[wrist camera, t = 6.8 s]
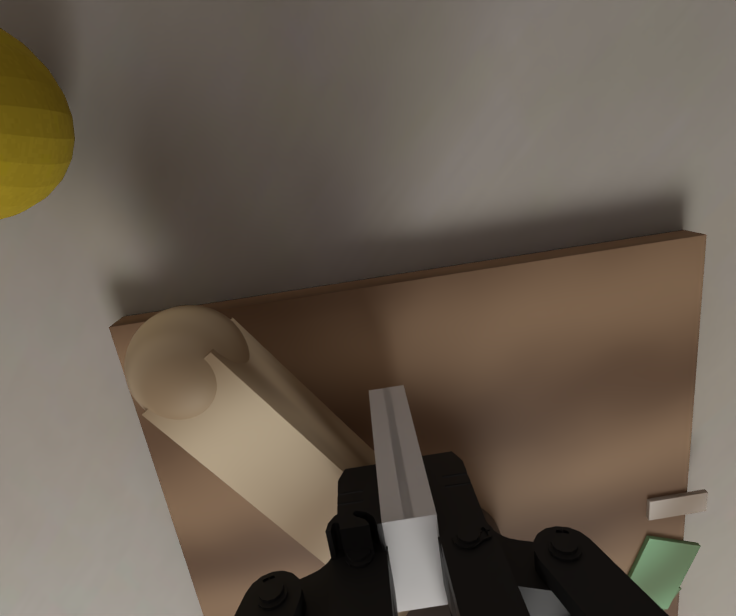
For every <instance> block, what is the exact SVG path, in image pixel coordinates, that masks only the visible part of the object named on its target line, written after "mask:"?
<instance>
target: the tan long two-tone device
mask: <svg viewBox="0 0 736 616" xmlns="http://www.w3.org/2000/svg"><path fill="white" fill-rule="evenodd" d="M124 372H125V378H126V382H127V385H128V388H129V390H130V392H131V394H132V396H133V397H134V399H135V400H136V401H137V402H138V404H139V405H140V406H141V407H142V408H143V409H144V410H145V411H144V413H143V414H142V415H143V416H144V417H145V418H146V419H147V420H149V421H150V422H151V423H152V424H154V425H155V426H156V427H157V428H159V429H160V430H161V431H162V432H163V433H165V434H166V435H167V436H168V437H170V438H171V439H172V440H173V441H174V442H176V443H177V444H178V445H179V446H181V447H182V448H183V449H184V450H186V451H187V452H188V453H189V454H190V455H192V456H193V457H194V458H195V459H197V460H198V461H199V462H200V463H201V464H203V465H204V466H205V467H206V468H208V469H209V470H210V471H211V472H213V473H214V474H215V475H216V476H217V477H219V478H220V479H221V480H222V481H224V482H225V483H226V484H227V485H228V486H230V487H231V488H232V489H233V490H235V491H236V492H237V493H238V494H240V495H241V496H242V497H243V498H244V499H246V500H247V501H248V502H249V503H251V504H252V505H253V506H254V507H256V508H257V509H258V510H259V511H260V512H262V513H263V514H264V515H265V516H267V517H268V518H269V519H270V520H271V521H273V522H274V523H275V524H276V525H278V526H279V527H280V528H281V529H283V530H284V531H285V532H286V533H287V534H289V535H290V536H291V537H292V538H294V539H295V540H296V541H297V542H298V543H300V544H301V545H302V546H303V547H305V548H306V549H307V550H308V551H310V552H311V553H312V554H313V555H314V556H316V557H317V558H318V559H319V560H321V561H322V562H323V563H324V564H325V565H326V564H327V563H328V561H329V560H330V559H331V555H330V550H329V546H328V541H327V537H326V532H325V531H326V528H327V525H328V523H329V522H330V520H331V519H332V518H333V517H334V516H335V515H337V506H338V505H337V496H338V480H339V478H340V477H341V475H342V473H343V471H344V470H345V469H348V468H355V467H361V466H368V465H374V464H376V461H375V452H374V451H373V450H372V449H371V448H370V447H369V446H368V445H367V444H366V443H365V442H364V441H363V440H362V439H361V438H360V437H359V436H358V435H356V434H355V433H354V432H353V431H352V430H351V429H350V428H349V427H348V426H347V425H346V424H345V423H344V422H343V421H342V420H341V419H340V418H338V417H337V416H336V415H335V414H334V413H333V412H332V411H331V410H330V409H329V408H328V407H327V406H326V405H325V404H324V403H323V402H321V401H320V400H319V399H318V398H317V397H316V396H315V395H314V394H313V393H312V392H311V391H310V390H309V389H308V388H307V387H306V386H305V385H303V384H302V383H301V382H300V381H299V380H298V379H297V378H296V377H295V376H294V375H293V374H292V373H291V372H290V371H289V370H288V369H287V368H285V367H284V366H283V365H282V364H281V363H280V362H279V361H278V360H277V359H276V358H275V357H274V356H273V355H272V354H271V353H270V352H269V351H267V350H266V349H265V348H264V347H263V346H262V345H261V344H260V343H259V342H258V341H257V340H256V339H255V338H254V337H253V336H252V335H251V334H249V333H248V332H247V331H246V330H245V329H244V328H243V327H242V326H241V325H240V324H239V323H238V322H237V321H236V320H235V319H234V318H232V319H231V320H230V319H229V318H228V317H227V316H225V315H223V314H222V313H220V312H218V311H216V310H214V309H211V308H208V307H203V306H196V305H182V306H176V307H172V308H169V309H166V310H163V311H161V312H159V313H157V314H156V315H154V316H152V317H151V318H149V319H148V320H147V321H146V322H145V323H143V325H142V326H141V327H140V328H139V329H138V330H137V331H136V333H135V334H134V336H133V337H132V339H131V341H130V344H129V346H128V348H127V352H126V356H125V363H124ZM481 509H482V508H481ZM482 512H483V515H484V517H485V520H486V521H487V523H488V524H489V525H490V526H491V527H492V528H493V530H494V531H496V532H497V533H499V534H500V535H501V533H500V531H499V528H498V526H497V524H496V522H495V521H494V519H493V518H492V517H491V516H490V514H489V513H487V512H486V511H485V510H484V509H482ZM398 616H450V609H449V604H447V605H441V606H434V607H428V608H422V609H415V610H409V611H403V612H398Z"/></svg>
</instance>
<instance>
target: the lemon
mask: <svg viewBox="0 0 736 616" xmlns="http://www.w3.org/2000/svg"><path fill="white" fill-rule="evenodd" d="M74 141H75V136H74V127H73V119H72V115H71V112H70V109H69V106H68V104H67V101H66V98H65V95H64V94H63V92H62V90H61V89H60V87H59V86H58V84H57V82H56V81H55V79H54V78H53V76H52V74H51V73H50V71H49V70H48V69H47V68H46V66H45V65H44V64H43V63H42V62H41V61H40V60H39V59H38V58H37V57H36V56H35V55H34V54H33V53H32V52H31V51H30V50H29V49H28V48H27V47H26V46H25V45H24V44H23V43H21V42H20V41H19V40H17V39H16V38H14V37H13V36H11V35H10V34H8V33H7V32H6V31H4V30H3V29H1V28H0V219H3V218H7V217H11V216H14V215H16V214H19V213H21V212H23V211H25V210H27V209H28V208H30V207H32V206H33V205H35V204H36V203H38V202H40V201H41V200H43V199H45V198H46V197H47V196H48V195H49V194H50V193H51V192H52V191H53V190H54V188H55V187H56V186H57V185H58V184H59V183H60V182H61V180H62V179H63V177H64V175H65V173H66V171H67V169H68V166H69V164H70V162H71V160H72V154H73V148H74Z"/></svg>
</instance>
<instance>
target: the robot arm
mask: <svg viewBox="0 0 736 616" xmlns="http://www.w3.org/2000/svg"><path fill="white" fill-rule="evenodd" d="M369 400H370V410H371V421H372V431H373V441H374V451H375V461H376V464H374V465H368V466H361V467H355V468H348V469H345V470H344V471H343V473H342V475H341V477H340V478H339V480H338V496H337V505H338V506H337V515H335V516H334V517H333V518H332V519H331V520H330V522H329V523H328V525H327V528H326V531H325V532H326V537H327V541H328V546H329V550H330V555H331V559H330V560H329V561H328V563H327V564H326V565H324V566H323V567H322V568H321V569H319V570H318V571H316V572H314V573H312V574H310V575H308V576H305V577H303V578H301V579H299V578H298V577H297V576H296V575H294V574H293V573H291V572H287V571H274V572H271V573H268V574H266V575H264V576H261V577H260V578H259V579H258V580H256V581H255V582H254V583H253V584H252V585H251V586H250V588H249V589H248V590H247V592H246V593H245V595H244V597H243V599H242V601H241V603H240V605H239V607H238V609H237V611H236V613H235V615H234V616H398V612H403V611H409V610H415V609H422V608H428V607H434V606H441V605H447V604H449V609H450V616H669V615H668V614H667V613H666V612H665V611H664V610H663V609H662V608H661V607H660V606H659V605H658V604H656V603H655V602H654V601H653V600H652V599H651V598H650V597H649V596H648V595H647V594H646V593H645V592H644V591H643V590H642V589H641V588H640V587H639V586H638V585H637V584H636V583H635V582H634V581H633V580H632V579H631V578H630V577H629V576H628V575H627V574H626V573H625V572H624V571H623V570H622V569H621V568H620V567H618V566H617V565H616V564H615V563H614V562H613V561H612V560H611V559H610V558H609V557H608V556H607V555H606V554H605V553H604V552H603V551H602V550H601V549H600V548H599V547H598V546H597V545H596V544H595V543H594V542H593V541H592V540H591V539H590V538H588V537H587V536H586V535H584V534H583V533H581V532H580V531H577V530H575V529H572V528H569V527H561V526H554V527H549V528H545V529H544V530H542V531H541V532H539V533H538V534H537V535H536V537H535V539H534V542H532V541H523V540H516V539H511V538H508V537H505V536H502V535H500V534H499V533H497V532H496V531H494V530H493V528H492V527H491V526H490V525H489V524H488V523H487V521H486V520H485V517H484V515H483V512H482V509H481V507H480V504H479V502H478V499H477V496H476V494H475V491H474V489H473V486H472V484H471V481H470V478H469V476H468V474H467V471H466V468H465V466H464V463H463V460H461V459H460V458H459V457H458V456H457V455H456V454H454V453H453V452H452V451H450V452H443V453H437V454H431V455H424V456H422V455H421V451H420V448H419V444H418V440H417V436H416V432H415V428H414V424H413V420H412V416H411V412H410V409H409V405H408V401H407V397H406V393H405V389H404V385H400V386H394V387H387V388H381V389H375V390H369Z"/></svg>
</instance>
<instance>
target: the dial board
mask: <svg viewBox="0 0 736 616" xmlns="http://www.w3.org/2000/svg"><path fill="white" fill-rule="evenodd" d="M705 247H706V235H705V234H701V233H696V232H691V231H686V230H681V231H674V232H668V233H661V234H655V235H648V236H642V237H635V238H629V239H622V240H616V241H610V242H603V243H597V244H590V245H584V246H577V247H571V248H564V249H558V250H551V251H545V252H538V253H532V254H526V255H519V256H513V257H506V258H500V259H493V260H487V261H480V262H474V263H467V264H461V265H454V266H448V267H441V268H435V269H429V270H422V271H416V272H409V273H403V274H396V275H390V276H383V277H377V278H370V279H364V280H357V281H351V282H345V283H338V284H332V285H325V286H319V287H312V288H306V289H299V290H293V291H286V292H280V293H273V294H267V295H261V296H254V297H248V298H241V299H235V300H228V301H222V302H215V303H209V304H202V305H196V306H203V307H208V308H211V309H214V310H216V311H218V312H220V313H222V314H223V315H225V316H227V317H228V318H229V319H230V320H231V319H232V318H234V319H235V320H236V321H237V322H238V323H239V324H240V325H241V326H242V327H243V328H244V329H245V330H246V331H247V332H248V333H249V334H251V335H252V336H253V337H254V338H255V339H256V340H257V341H258V342H259V343H260V344H261V345H262V346H263V347H264V348H265V349H266V350H267V351H269V352H270V353H271V354H272V355H273V356H274V357H275V358H276V359H277V360H278V361H279V362H280V363H281V364H282V365H283V366H284V367H285V368H287V369H288V370H289V371H290V372H291V373H292V374H293V375H294V376H295V377H296V378H297V379H298V380H299V381H300V382H301V383H302V384H303V385H305V386H306V387H307V388H308V389H309V390H310V391H311V392H312V393H313V394H314V395H315V396H316V397H317V398H318V399H319V400H320V401H321V402H323V403H324V404H325V405H326V406H327V407H328V408H329V409H330V410H331V411H332V412H333V413H334V414H335V415H336V416H337V417H338V418H340V419H341V420H342V421H343V422H344V423H345V424H346V425H347V426H348V427H349V428H350V429H351V430H352V431H353V432H354V433H355V434H356V435H358V436H359V437H360V438H361V439H362V440H363V441H364V442H365V443H366V444H367V445H368V446H369V447H370V448H371V449H372V450H373V451H374V441H373V431H372V421H371V410H370V400H369V390H375V389H381V388H387V387H394V386H400V385H404V389H405V393H406V397H407V401H408V405H409V409H410V412H411V416H412V420H413V424H414V428H415V432H416V436H417V440H418V444H419V448H420V451H421V455H422V456H424V455H431V454H437V453H443V452H450V451H452V452H453V453H454V454H456V455H457V456H458V457H459V458H460V459H461V460H463V463H464V466H465V468H466V471H467V474H468V476H469V478H470V481H471V484H472V486H473V489H474V491H475V494H476V496H477V499H478V502H479V504H480V507H481V508H482V509H484V510H485V511H486V512H487V513H489V514H490V516H491V517H492V518H493V519H494V521H495V522H496V524H497V526H498V528H499V531H500V533H501V535H502V536H505V537H508V538H511V539H516V540H523V541H532V542H534V539H535V537H536V535H537V534H538V533H539V532H541V531H542V530H544V529H545V528H549V527H554V526H561V527H569V528H572V529H575V530H577V531H580V532H581V533H583V534H584V535H586V536H587V537H588V538H590V539H591V540H592V541H593V542H594V543H595V544H596V545H597V546H598V547H599V548H600V549H601V550H602V551H603V552H604V553H605V554H606V555H607V556H608V557H609V558H610V559H611V560H612V561H613V562H614V563H615V564H616V565H617V566H618V567H620V568H621V569H622V570H623V571H624V572H625V573H626V574H627V575H628V576H629V577H630V578H631V579H632V580H633V581H634V582H635V583H636V584H637V585H638V586H639V587H640V588H641V589H642V590H643V591H644V592H645V593H646V594H647V595H648V596H649V597H650V598H651V599H652V600H653V601H654V602H655V603H656V604H658V605H659V606H660V607H661V608H662V609H663V610H664V611H665V612H666V613H667V614H668V615H669V616H677V615H678V602H679V591H680V590H681V588H680V585H681V583H682V581H683V579H684V577H685V575H686V573H687V571H688V569H689V568H690V566H691V564H692V562H693V560H694V558H695V556H696V554H697V552H698V550H699V548H700V545H699V544H698V543H696V542H689V541H683V536H684V523H685V514H691V513H697V512H703V511H706V507H707V496H708V492H707V491H706V490H705V489H704V490H698V491H692V492H687V484H688V471H689V458H690V444H691V431H692V418H693V405H694V392H695V379H696V366H697V352H698V339H699V326H700V313H701V300H702V287H703V274H704V260H705ZM159 312H161V311H157V312H151V313H144V314H138V315H131V316H125V317H122V318H121V319H119V320H118V321H117V322H115V323H114V324H113V325H111V326H110V327H109V329H110V332H111V335H112V338H113V341H114V344H115V347H116V350H117V353H118V356H119V359H120V362H121V365H122V368H123V372H124V363H125V356H126V352H127V348H128V346H129V344H130V341H131V339H132V337H133V336H134V334H135V333H136V331H137V330H138V329H139V328H140V327H141V326H142V325H143V323H145V322H146V321H147V320H148V319H149V318H151V317H152V316H154V315H156V314H157V313H159ZM124 375H125V372H124ZM130 393H131V392H130ZM131 396H132V394H131ZM132 399H133V402H134V405H135V408H136V411H137V414H138V417H139V420H140V423H141V426H142V429H143V432H144V435H145V438H146V442H147V445H148V448H149V451H150V454H151V457H152V460H153V463H154V466H155V469H156V472H157V475H158V478H159V481H160V484H161V487H162V490H163V493H164V496H165V499H166V502H167V505H168V508H169V512H170V515H171V518H172V521H173V524H174V527H175V530H176V533H177V536H178V539H179V542H180V545H181V548H182V551H183V554H184V557H185V560H186V563H187V566H188V569H189V572H190V575H191V578H192V581H193V585H194V588H195V591H196V594H197V597H198V600H199V603H200V606H201V609H202V612H203V615H204V616H234V615H235V613H236V611H237V609H238V607H239V605H240V603H241V601H242V599H243V597H244V595H245V593H246V592H247V590H248V589H249V588H250V586H251V585H252V584H253V583H254V582H255V581H256V580H258V579H259V578H260V577H261V576H264V575H266V574H268V573H271V572H274V571H287V572H291V573H293V574H294V575H296V576H297V577H298V578H299V579H301V578H303V577H305V576H308V575H310V574H312V573H314V572H316V571H318V570H319V569H321V568H322V567H323V566H324V565H325V564H324V563H323V562H322V561H321V560H319V559H318V558H317V557H316V556H314V555H313V554H312V553H311V552H310V551H308V550H307V549H306V548H305V547H303V546H302V545H301V544H300V543H298V542H297V541H296V540H295V539H294V538H292V537H291V536H290V535H289V534H287V533H286V532H285V531H284V530H283V529H281V528H280V527H279V526H278V525H276V524H275V523H274V522H273V521H271V520H270V519H269V518H268V517H267V516H265V515H264V514H263V513H262V512H260V511H259V510H258V509H257V508H256V507H254V506H253V505H252V504H251V503H249V502H248V501H247V500H246V499H244V498H243V497H242V496H241V495H240V494H238V493H237V492H236V491H235V490H233V489H232V488H231V487H230V486H228V485H227V484H226V483H225V482H224V481H222V480H221V479H220V478H219V477H217V476H216V475H215V474H214V473H213V472H211V471H210V470H209V469H208V468H206V467H205V466H204V465H203V464H201V463H200V462H199V461H198V460H197V459H195V458H194V457H193V456H192V455H190V454H189V453H188V452H187V451H186V450H184V449H183V448H182V447H181V446H179V445H178V444H177V443H176V442H174V441H173V440H172V439H171V438H170V437H168V436H167V435H166V434H165V433H163V432H162V431H161V430H160V429H159V428H157V427H156V426H155V425H154V424H152V423H151V422H150V421H149V420H147V419H146V418H145V417H144V416H143V415H142V414H143V413H144V411H145V410H144V409H143V408H142V407H141V406H140V405H139V404H138V402H137V401H136V400H135V399H134V397H133V396H132ZM374 452H375V451H374Z"/></svg>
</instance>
